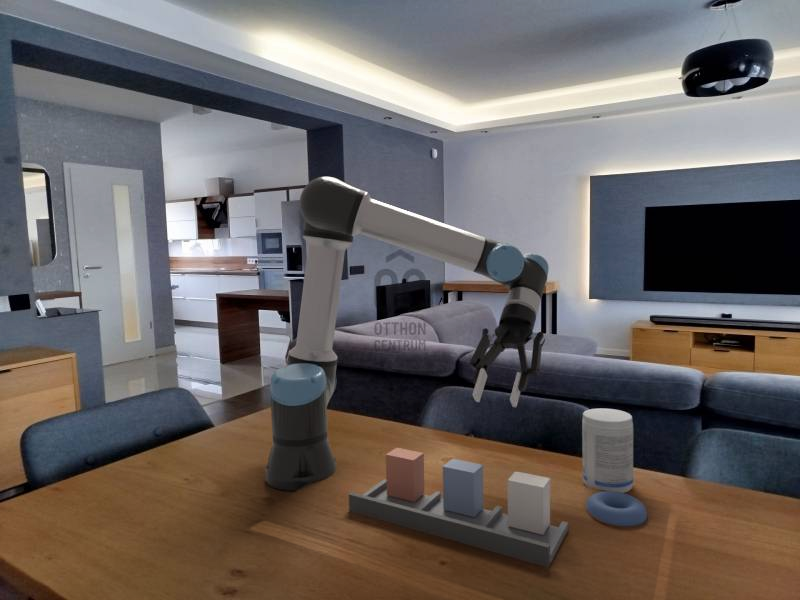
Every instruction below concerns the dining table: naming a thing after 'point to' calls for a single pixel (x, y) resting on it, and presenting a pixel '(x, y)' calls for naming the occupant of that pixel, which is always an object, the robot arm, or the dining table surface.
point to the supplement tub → (607, 449)
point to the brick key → (405, 474)
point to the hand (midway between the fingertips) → (494, 400)
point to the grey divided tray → (460, 524)
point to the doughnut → (616, 509)
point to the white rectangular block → (529, 502)
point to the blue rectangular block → (463, 487)
